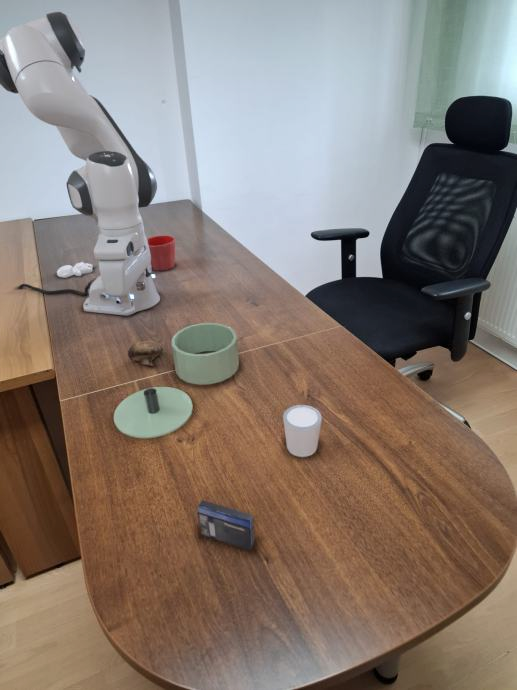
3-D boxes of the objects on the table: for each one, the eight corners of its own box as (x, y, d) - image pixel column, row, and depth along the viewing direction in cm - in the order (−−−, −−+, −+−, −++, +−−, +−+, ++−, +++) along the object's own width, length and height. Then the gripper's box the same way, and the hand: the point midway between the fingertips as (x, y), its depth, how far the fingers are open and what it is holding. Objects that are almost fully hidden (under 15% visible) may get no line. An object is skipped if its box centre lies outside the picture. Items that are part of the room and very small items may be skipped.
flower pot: (141, 270, 162) (136, 243, 157) (158, 259, 170) (154, 234, 165) (167, 274, 158) (163, 246, 153) (184, 262, 167) (180, 236, 162)
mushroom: (152, 364, 104) (146, 337, 105) (124, 372, 107) (118, 346, 108) (172, 362, 112) (165, 337, 112) (145, 370, 115) (139, 345, 115)
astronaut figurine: (92, 275, 160) (90, 266, 158) (55, 279, 158) (53, 270, 157) (94, 266, 167) (92, 258, 166) (59, 269, 166) (57, 261, 164)
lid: (111, 446, 87) (105, 423, 84) (117, 396, 100) (112, 375, 97) (195, 433, 89) (192, 411, 86) (190, 386, 102) (187, 365, 100)
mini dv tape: (200, 534, 70) (196, 507, 67) (205, 526, 71) (201, 499, 68) (251, 550, 67) (249, 523, 64) (255, 542, 68) (253, 515, 65)
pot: (177, 390, 101) (172, 360, 97) (175, 355, 114) (170, 326, 110) (243, 381, 103) (241, 351, 99) (234, 347, 116) (231, 319, 112)
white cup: (310, 464, 81) (311, 434, 78) (276, 450, 84) (275, 421, 81) (326, 441, 86) (328, 411, 82) (294, 428, 89) (294, 400, 86)
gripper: (124, 222, 105) (135, 279, 112) (89, 254, 87) (105, 319, 94) (152, 222, 104) (161, 279, 111) (122, 254, 87) (135, 319, 94)
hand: (135, 298), depth 103 cm, fingers open, 8 cm apart
